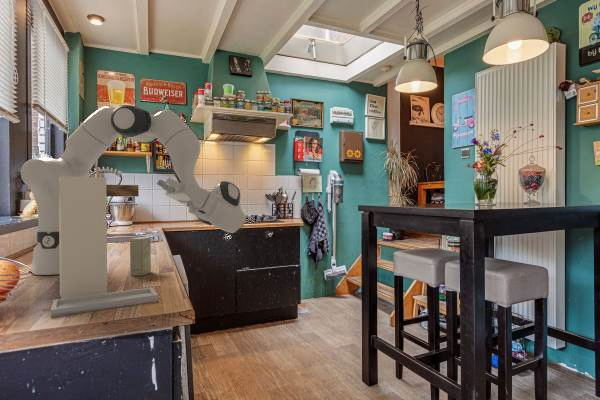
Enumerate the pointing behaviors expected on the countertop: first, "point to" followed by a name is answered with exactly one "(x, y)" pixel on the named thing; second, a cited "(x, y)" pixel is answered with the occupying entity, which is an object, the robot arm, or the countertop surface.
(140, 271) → the skincare box
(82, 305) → the tray
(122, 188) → the walnut bar
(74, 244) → the tall cream pillar
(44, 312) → the countertop surface
